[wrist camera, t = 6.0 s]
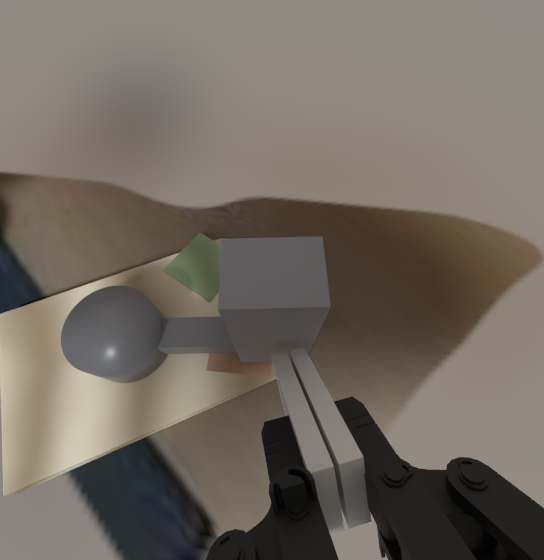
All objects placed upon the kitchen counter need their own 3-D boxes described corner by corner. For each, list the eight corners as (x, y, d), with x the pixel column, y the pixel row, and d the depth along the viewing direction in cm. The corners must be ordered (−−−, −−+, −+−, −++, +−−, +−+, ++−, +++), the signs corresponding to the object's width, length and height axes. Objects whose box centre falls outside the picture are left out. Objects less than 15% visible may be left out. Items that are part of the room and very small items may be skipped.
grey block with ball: (83, 384, 19) (-68, 345, 10) (101, 306, 21) (-11, 223, 13) (307, 377, 19) (334, 334, 10) (301, 301, 21) (320, 215, 13)
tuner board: (20, 492, 17) (2, 496, 16) (11, 306, 22) (-3, 300, 21) (292, 372, 20) (293, 368, 19) (230, 231, 25) (228, 222, 24)
